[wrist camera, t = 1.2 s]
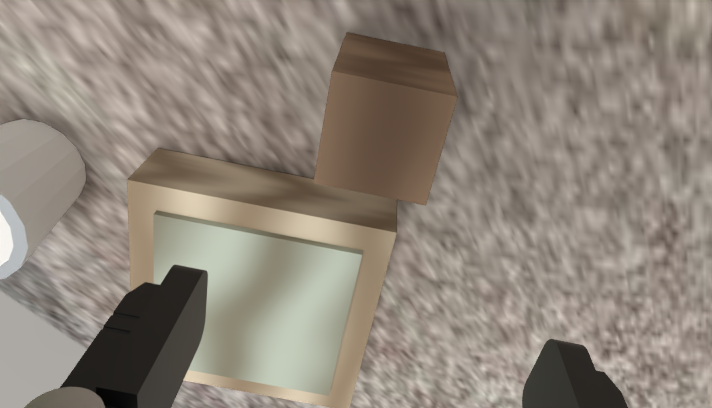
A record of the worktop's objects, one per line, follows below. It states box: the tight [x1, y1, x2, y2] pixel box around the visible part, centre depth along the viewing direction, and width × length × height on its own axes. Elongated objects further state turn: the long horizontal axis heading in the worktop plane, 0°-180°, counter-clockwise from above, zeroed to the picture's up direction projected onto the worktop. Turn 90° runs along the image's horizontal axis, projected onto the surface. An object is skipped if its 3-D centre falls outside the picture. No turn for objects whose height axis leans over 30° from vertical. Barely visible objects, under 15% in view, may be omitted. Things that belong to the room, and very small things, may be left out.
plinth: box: [127, 148, 397, 408], centre depth 32 cm, size 14×14×4 cm
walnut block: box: [313, 32, 458, 205], centre depth 25 cm, size 5×5×7 cm
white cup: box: [0, 119, 86, 279], centre depth 29 cm, size 7×7×7 cm
